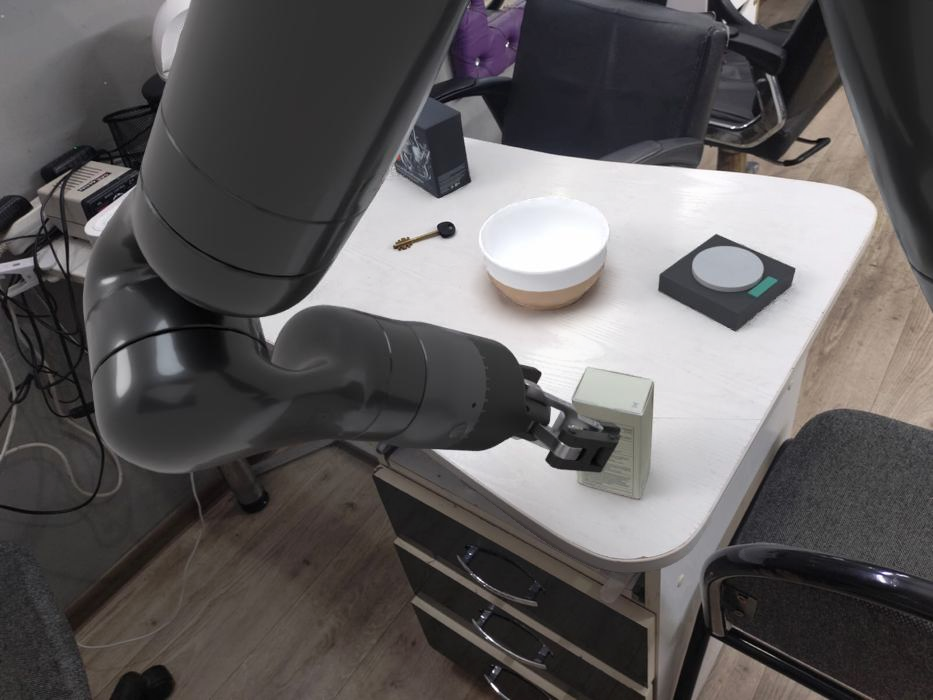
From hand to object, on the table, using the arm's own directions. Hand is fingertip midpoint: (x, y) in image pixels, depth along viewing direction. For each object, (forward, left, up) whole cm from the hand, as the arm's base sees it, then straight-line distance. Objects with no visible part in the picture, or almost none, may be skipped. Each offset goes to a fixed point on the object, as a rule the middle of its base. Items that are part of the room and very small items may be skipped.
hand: (571, 408), depth 54 cm
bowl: (+26, -22, -14) cm, 37 cm away
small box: (+60, -29, -14) cm, 68 cm away
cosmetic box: (0, -5, -14) cm, 15 cm away
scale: (+9, -35, -14) cm, 39 cm away
